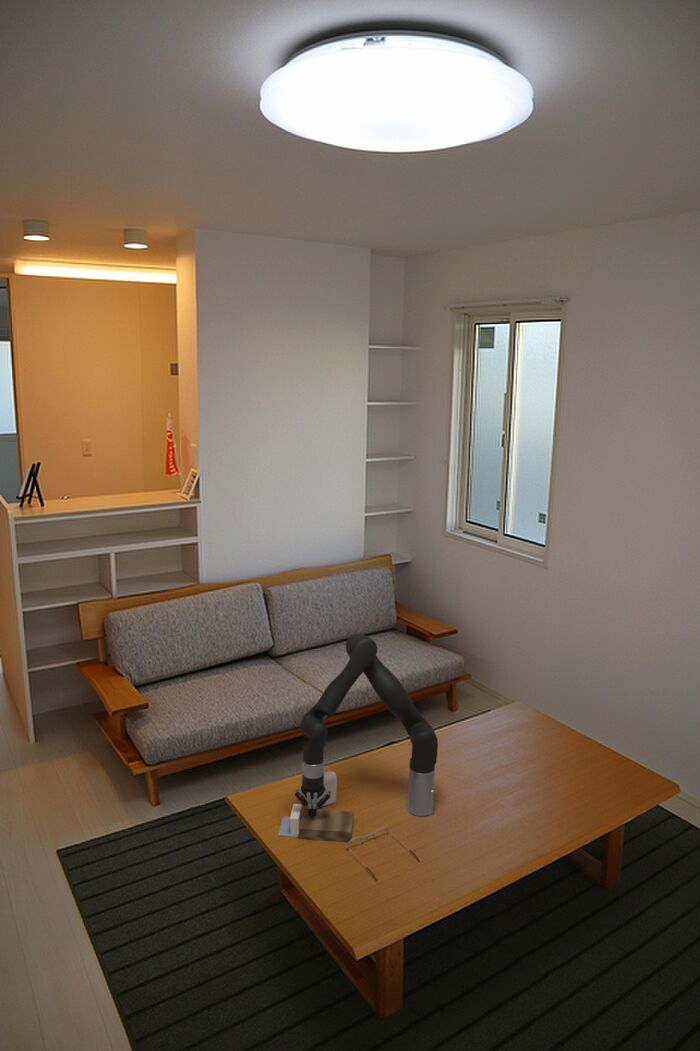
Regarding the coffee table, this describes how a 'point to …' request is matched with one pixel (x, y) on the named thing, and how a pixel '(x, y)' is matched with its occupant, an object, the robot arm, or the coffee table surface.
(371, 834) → the eyeglasses
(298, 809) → the cream rectangular block
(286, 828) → the mat
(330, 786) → the photo printer
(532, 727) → the coffee table surface
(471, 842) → the coffee table surface
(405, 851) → the coffee table surface
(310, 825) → the brown flat block
